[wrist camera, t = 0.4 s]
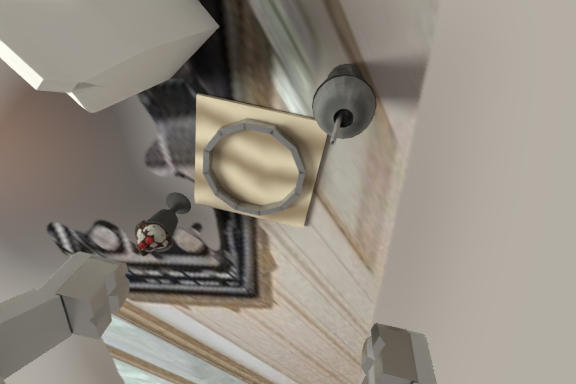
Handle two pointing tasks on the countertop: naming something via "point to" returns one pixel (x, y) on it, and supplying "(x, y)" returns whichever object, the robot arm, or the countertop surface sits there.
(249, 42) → the countertop surface
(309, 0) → the countertop surface
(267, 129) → the ring seat
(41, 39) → the milk
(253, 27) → the countertop surface
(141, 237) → the sundae
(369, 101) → the beverage cup
